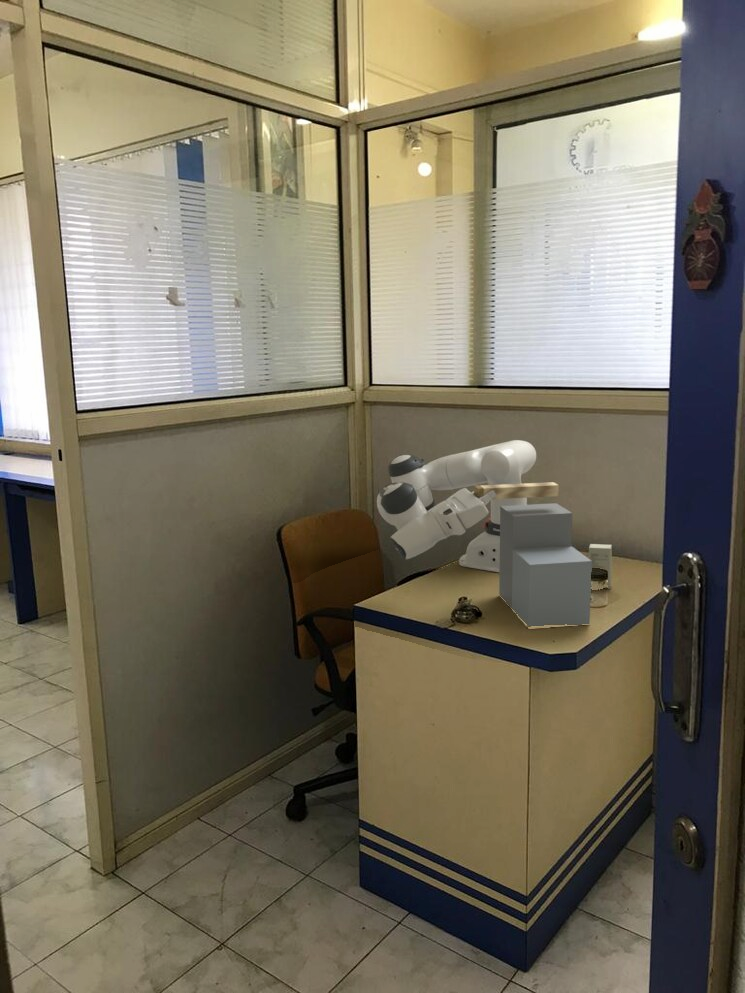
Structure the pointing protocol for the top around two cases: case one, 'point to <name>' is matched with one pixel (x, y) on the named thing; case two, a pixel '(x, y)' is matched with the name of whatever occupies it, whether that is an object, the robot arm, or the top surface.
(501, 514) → the stepped stand
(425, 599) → the top surface
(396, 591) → the top surface
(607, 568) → the skincare box
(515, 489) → the birch bar
